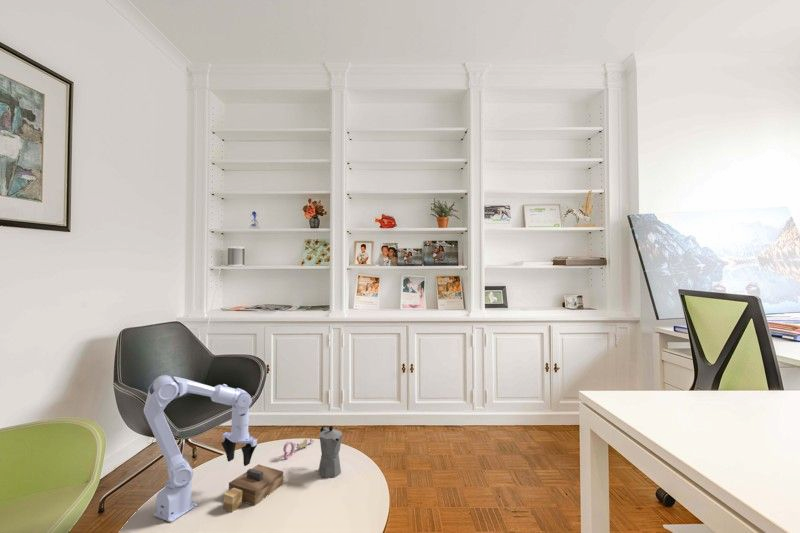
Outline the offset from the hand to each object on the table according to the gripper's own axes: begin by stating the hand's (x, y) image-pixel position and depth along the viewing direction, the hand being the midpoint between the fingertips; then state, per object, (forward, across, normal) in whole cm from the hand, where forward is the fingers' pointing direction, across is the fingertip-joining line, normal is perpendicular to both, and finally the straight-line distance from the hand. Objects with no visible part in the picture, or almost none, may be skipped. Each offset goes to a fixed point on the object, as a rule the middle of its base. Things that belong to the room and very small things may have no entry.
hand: (238, 462), depth 134 cm
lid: (+6, -6, -2) cm, 9 cm away
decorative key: (+10, -2, -34) cm, 35 cm away
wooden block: (+10, -6, +8) cm, 14 cm away
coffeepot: (+10, -23, -24) cm, 35 cm away
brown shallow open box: (+10, -6, -2) cm, 12 cm away
